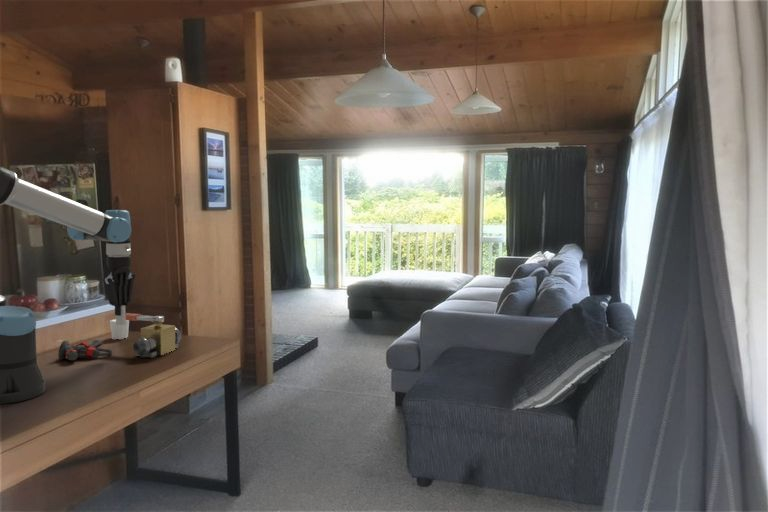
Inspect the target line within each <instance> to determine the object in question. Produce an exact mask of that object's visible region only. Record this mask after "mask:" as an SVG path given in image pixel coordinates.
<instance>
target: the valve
mask: <svg viewBox="0 0 768 512" xmlns="http://www.w3.org/2000/svg"><path fill="white" fill-rule="evenodd" d="M103 343H104V340H103V339H101V340H100V339H98V338H96V339H94V340H93V341H90V342H89V343H87V342H85V341H81V342H80V343H78V344H76V345H70V342H69V341H68V340H63V341H62V342H61V344H60V346H59V349H58V353H57V354H58V355H57V356H58V357H57V358H58V360H60V361H62V360H65V359H67V360H68V361H71V362H72V361H75V360H77V359H78V358H80V359H82V358H83V359H86V360H95V359H98V358H99V357H107V356H111V355H113V351H112V350H111V349H107V348H102V347H101V348H100V347H97V346H99V345H101V344H103ZM65 357H66V358H65Z"/></svg>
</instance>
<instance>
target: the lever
mask: <svg viewBox="0 0 768 512" xmlns="http://www.w3.org/2000/svg"><path fill="white" fill-rule="evenodd" d="M126 320H129V322H130V321H133V322H137V321H147V322H151V323H153V324H154V323H159V322H162V323H164V322H165V316H164V315H145V314H142V313H133V312H132V313H131V312H126Z"/></svg>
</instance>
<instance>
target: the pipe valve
mask: <svg viewBox="0 0 768 512" xmlns="http://www.w3.org/2000/svg"><path fill="white" fill-rule="evenodd" d="M181 340H182V332H181V331H180V329H178V328H177V327H176V325H172V324H163V322H159V323H154V322H153V324H151V325H146V326H145V327H144V326H143V327H141V328H140V337H139V338H136V340H134V342H133V346H132V349H133V351H134V353H135V354H136V357H137V356H140V357H139V358H145V357H151V358H150V359H154V358H156V357H155V356H157V355H163V356H165V355H167V354H170V353H172V352H175V351H176V349H175V348H177V349H179V342H180V341H181ZM174 350H175V351H174ZM171 351H172V352H171ZM169 352H170V353H169ZM166 353H167V354H166ZM164 354H165V355H164ZM153 357H154V358H153ZM157 357H158V356H157Z"/></svg>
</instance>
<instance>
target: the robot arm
mask: <svg viewBox="0 0 768 512" xmlns="http://www.w3.org/2000/svg"><path fill="white" fill-rule="evenodd" d="M3 205H8V206H10V207H12V208H15V209H19V210H21V211H24V212H27V213H29V214H33V215H36V216H37V217H40V218H44V219H46V220H49V221H52V222H54V223H58V224H60V225H63V226H66V231H67V234H68V236H69V238H70V240H71V239H72V240H73V241H88V240H89V241H99V242H105V243H106V245H105V254H106V256H107V257H106V267H107V268H108V269H109V271H108V276H107V277H103V279H102V282H103V284H104V285H105V289H106V290H105V291H106V293H107V299H108V302H109V303H108V304H109V305H110V306H113V307H114V315H115V319H116V325H125V324H126V313H127V306H129V305H130V302H131V301H132V294H133V287H134V281H135V278H136V274H135V273H132V272H131V270H130V268H131V267H132V257H131V256H130V255H131V254H132V249H131V247H132V244H131V242H132V241H131V240H132V239H131V238H132V237H131V234H132V226H131V225H132V223H131V222H132V221H131V216H130V215H131V214H130V211H128V210H126V209H110V210H109V209H106V211H105V212H102V211H100V210H97V209H95V208H92V207H89V206H87V205H85V204H82V203H79V202H78V201H76V200H73V199H70V198H68V197H66V196H63V195H60V194H59V193H56V192H53V191H51V190H49V189H46V188H44V187H42V186H41V187H40V186H39V185H36V184H33V183H32V182H29V181H28V180H27V181H26V180H24V179H21V178H19V177H18V175H17V174H16V172H15V171H13V170H10V169H8V168H5V167H3V166H0V206H3ZM36 327H37V321H36V317H35V313H34V311H33V310H32V309H30V308H29V307H25V306H17V305H8V303H7V300H6V296H4V295H2V294H0V405H3V404H12V403H17V402H23V401H27V400H31V399H34V398H37V397H38V396H40V395H42V394H43V393H45V391H46V382H45V380H44V377H43V375H42V372H41V370H40V368H39V365H38V363H37V362H38V361H37V360H38V359H37V328H36Z"/></svg>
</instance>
